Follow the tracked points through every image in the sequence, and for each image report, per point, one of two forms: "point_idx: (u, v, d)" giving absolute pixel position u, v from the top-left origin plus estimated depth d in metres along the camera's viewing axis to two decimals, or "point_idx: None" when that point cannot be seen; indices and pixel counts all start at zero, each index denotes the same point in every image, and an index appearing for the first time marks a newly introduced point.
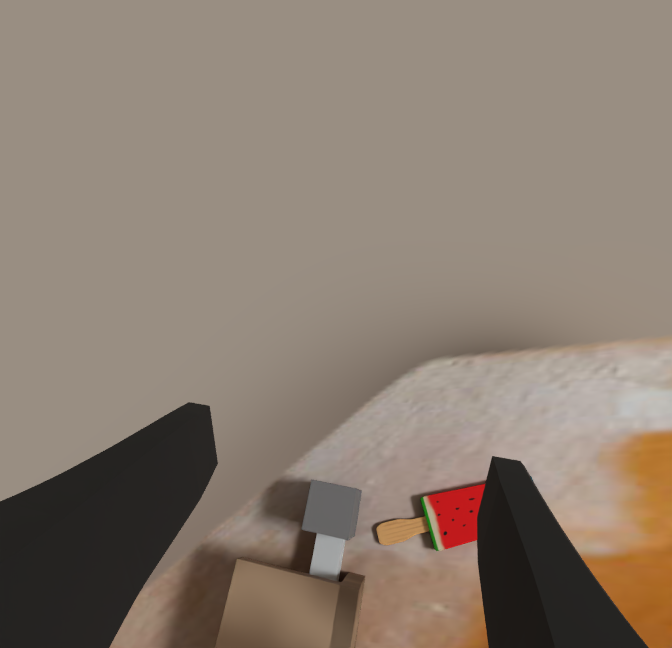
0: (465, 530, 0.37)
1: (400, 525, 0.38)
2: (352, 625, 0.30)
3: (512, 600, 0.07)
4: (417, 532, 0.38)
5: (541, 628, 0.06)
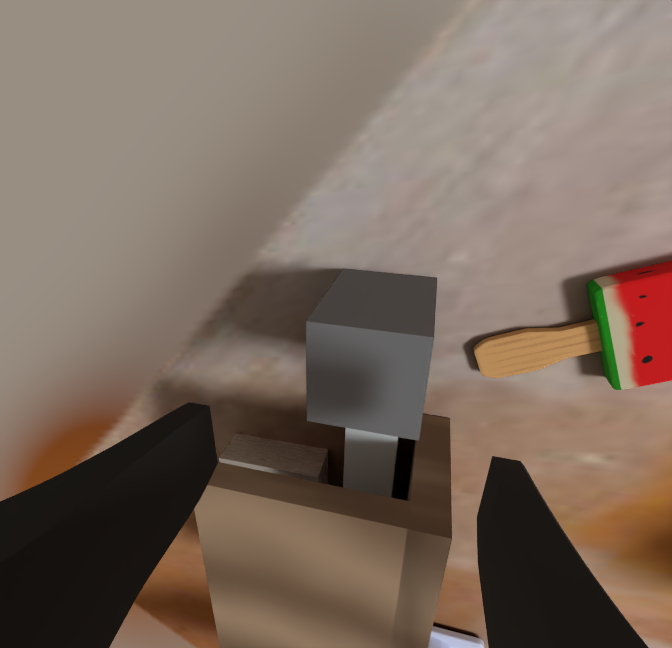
0: None
1: (531, 343, 0.17)
2: (440, 579, 0.15)
3: (512, 600, 0.07)
4: (571, 354, 0.17)
5: (541, 628, 0.06)
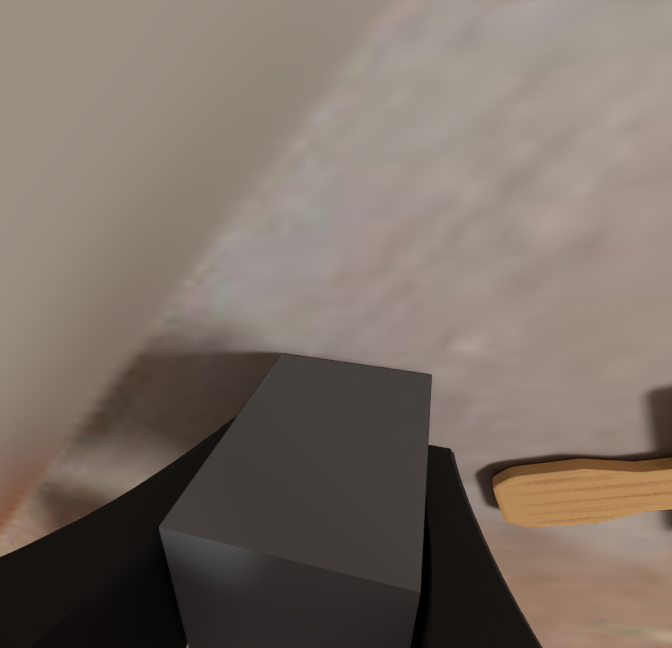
0: None
1: (589, 485, 0.10)
2: None
3: (422, 578, 0.07)
4: (657, 506, 0.10)
5: (429, 600, 0.06)
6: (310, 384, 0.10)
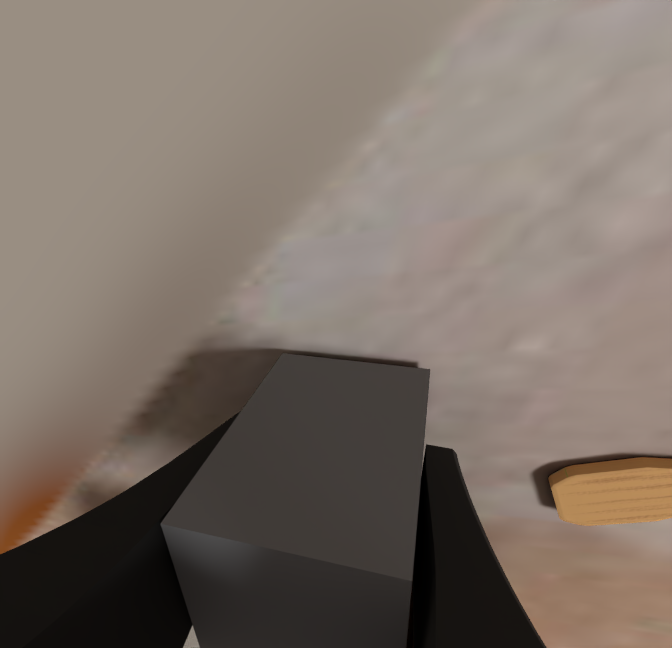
0: None
1: (651, 484, 0.10)
2: None
3: (425, 578, 0.07)
4: None
5: (433, 601, 0.06)
6: (309, 382, 0.10)
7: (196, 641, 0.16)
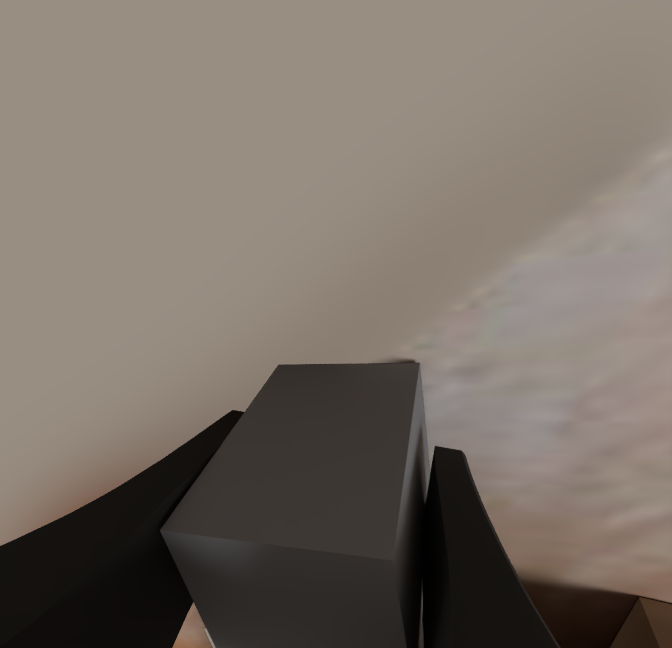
0: None
1: None
2: None
3: (437, 581, 0.07)
4: None
5: (447, 604, 0.06)
6: (303, 388, 0.10)
7: None
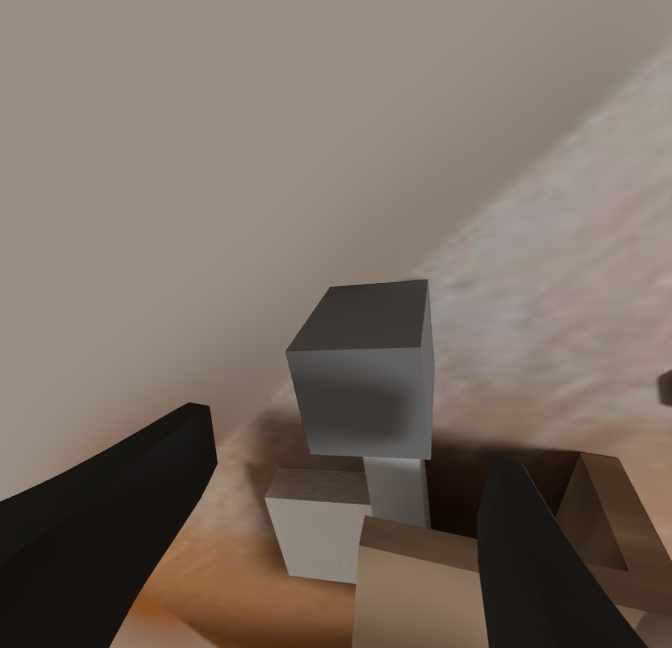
0: None
1: None
2: None
3: (512, 600, 0.07)
4: None
5: (541, 628, 0.06)
6: (351, 295, 0.16)
7: (293, 527, 0.21)
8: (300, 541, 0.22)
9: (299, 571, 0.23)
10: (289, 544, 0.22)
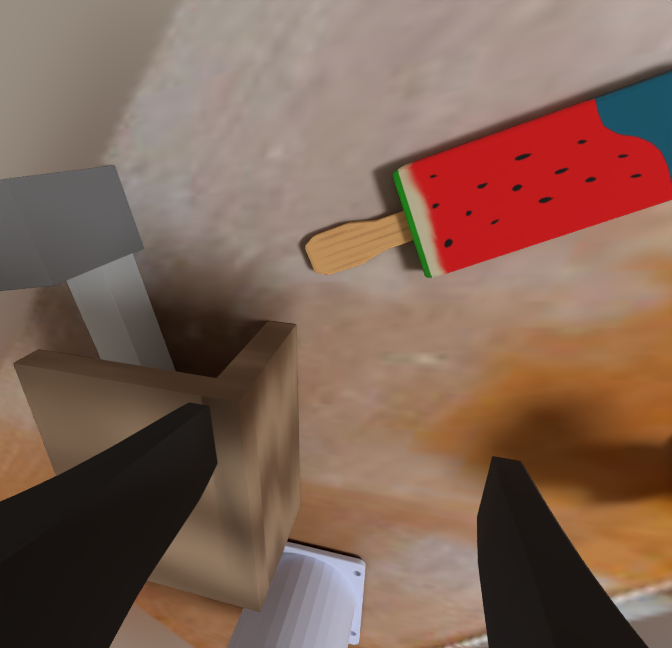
0: (496, 232, 0.16)
1: (352, 235, 0.18)
2: (241, 450, 0.16)
3: (512, 600, 0.07)
4: (388, 245, 0.17)
5: (541, 628, 0.06)
6: None
7: None
8: None
9: None
10: None
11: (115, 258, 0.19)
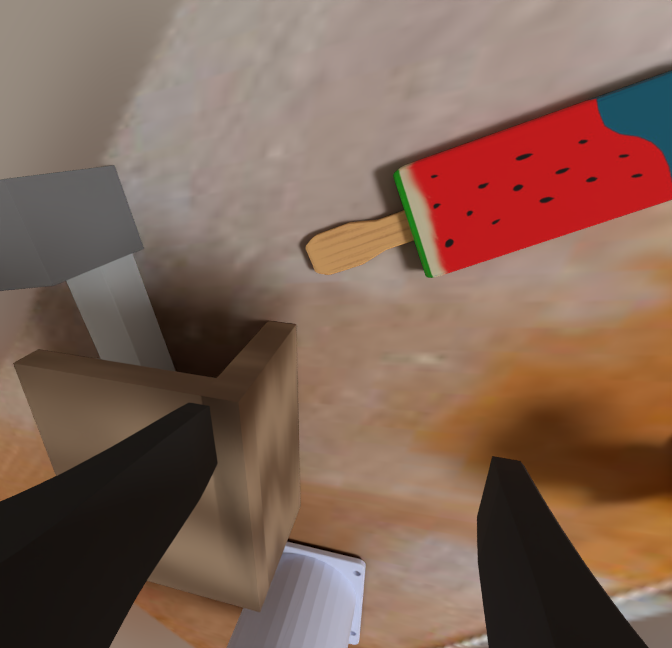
0: (497, 231, 0.16)
1: (353, 235, 0.18)
2: (241, 450, 0.16)
3: (512, 600, 0.07)
4: (389, 245, 0.17)
5: (541, 628, 0.06)
6: None
7: None
8: None
9: None
10: None
11: (115, 258, 0.19)
